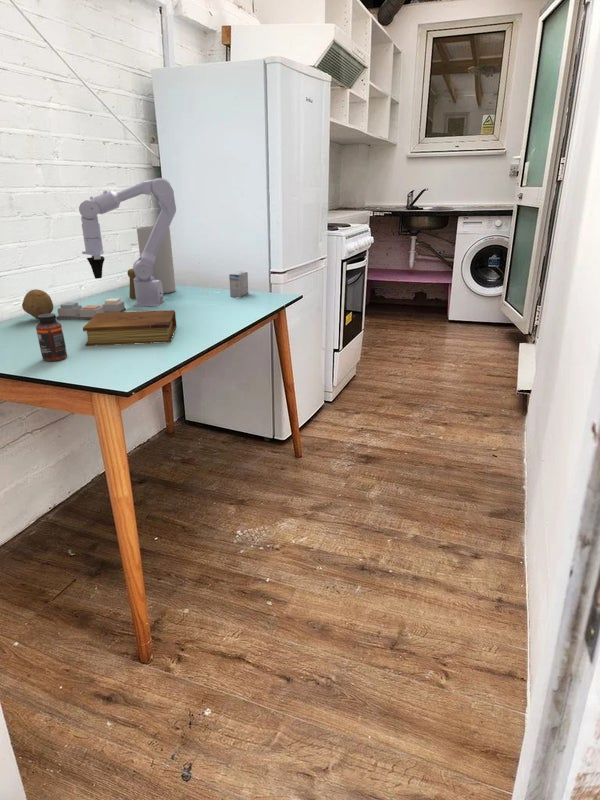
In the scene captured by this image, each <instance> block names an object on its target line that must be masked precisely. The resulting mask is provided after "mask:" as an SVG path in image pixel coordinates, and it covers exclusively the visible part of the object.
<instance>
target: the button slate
mask: <svg viewBox="0 0 600 800" xmlns="http://www.w3.org/2000/svg"><path fill="white" fill-rule="evenodd" d="M78 305H79V304H78V302H70V301H69V302H67V301H66V302H65V303H62V304H60V305H59V306H60V307H61V309H73V308H75V307H78Z"/></svg>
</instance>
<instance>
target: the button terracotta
mask: <svg viewBox="0 0 600 800" xmlns="http://www.w3.org/2000/svg"><path fill="white" fill-rule="evenodd" d="M100 306H101V305H100V304H99V305H98V304H97V305H95V304H94V305H90V304H89V305H88V304H87V305H86V306H84V307H82V308H83V309H93V310H95V309H97V308H99V307H100Z"/></svg>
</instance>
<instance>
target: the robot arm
mask: <svg viewBox="0 0 600 800" xmlns="http://www.w3.org/2000/svg"><path fill="white" fill-rule="evenodd" d="M140 195H147V196H148V195H149V196H152V195H153V196H154V197H155V198H156V200H157V203H158V205H159V207H160V212H159V215H158V216H157V218H156V221H155V224H154V228H153V230H152V232H151V234H150V237H149V239H148V241H147V244H146V246H145V248H144V250H143V252H142V254H141V256H140V255H139V257H138V259H136V260H135V261H134V263H133V264H132V265H133V266H132V269H133V270H134V273H135V275H136V277H135V278H134V287H135V295H136V299H135V301H136V302H134V303H133V304H132V306H133V307H159V306H160V305H162V304H164V303H165V299H164V297H165V296H164V294H163V288H162V283H161V281H160V280H155V279H154V277H153V276H152V274H153V265H154V262H155V258H156V256H157V253H158V251H159V249H160V247H161V244H162V242H163V240H164V238H165V235H166V233H167V231H168V228H169V227H171V224H172V222H173V220H174V217H175V215H176V212H177V207H176V205H177V204H176V200H175V191H174V189H173V186H172V185H171V183H170V182H169V181H168V180H167V179H165V178H164V177H158V178H154V179H150V180H146V181H141V182H139V183H136V184H134V185H132V186H130V187H127V188H125V189H123V190H121V191H117V192H115V191H113V190H108V191H107V190H104V191H102V194H98V195H96V196H94V197H93V196H90V197H89V199H86V200H84V201H82V202H81V203H80V204H79V206H78V211H79V213H80V215H81V216H80V217H81V218H80V221H81V229H82V230H81V231H82V236H83V241H84V249H85V250H83V251H82V252H81V253H82V255H88V256H91V257H86V260H87V261H88V264H89V265H90V267H91V271H92V274H93V276H94V279H96V280H97V279H102V278H103V268H104V267H103V265H104V262H105V259H106V258H105V257H104V256H103V255H104V254H105V251H104V247H103V240H102V233H101V225H100V223H99V217H98V214H99V215H103V214H105V213H109V212H111V211H113V210H116V209H118V208H119V207H120V205H121V203H122V202H124V201H127V200H129V199H132V198H136V197H138V196H140ZM101 255H102V256H101Z"/></svg>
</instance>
